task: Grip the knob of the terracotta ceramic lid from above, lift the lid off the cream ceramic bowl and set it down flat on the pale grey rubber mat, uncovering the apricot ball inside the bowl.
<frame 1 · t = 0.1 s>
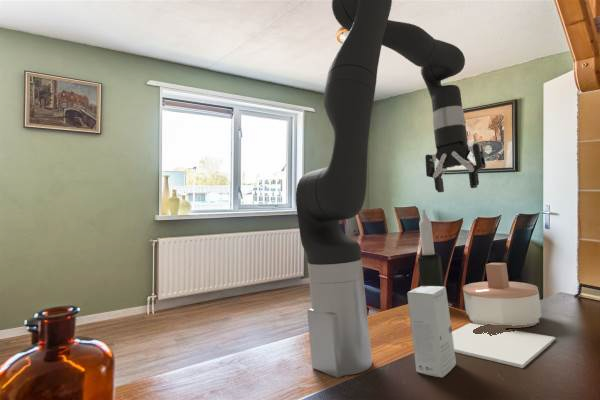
hand: (456, 190, 89), 29 cm above the table, tool pointing down, fingers open, 8 cm apart
bowl: (502, 319, 75), on the table
ball: (500, 304, 75), point 3 cm above the table, touching bowl
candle: (434, 308, 89), on the table
lid: (499, 291, 75), point 6 cm above the table, touching bowl
mat: (491, 343, 62), on the table
skincare box: (436, 369, 54), on the table
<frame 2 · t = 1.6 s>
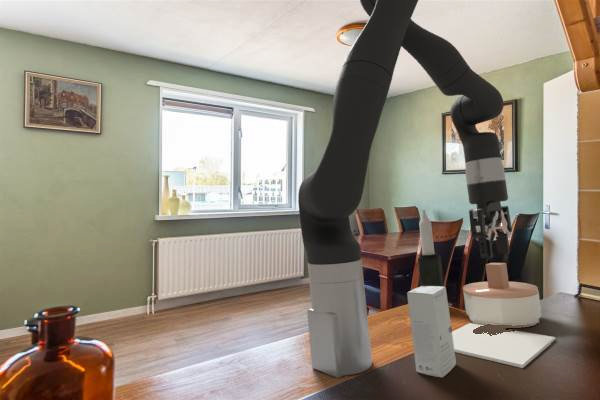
hand: (495, 255, 75), 14 cm above the table, tool pointing down, fingers open, 8 cm apart
nothing on the table moved.
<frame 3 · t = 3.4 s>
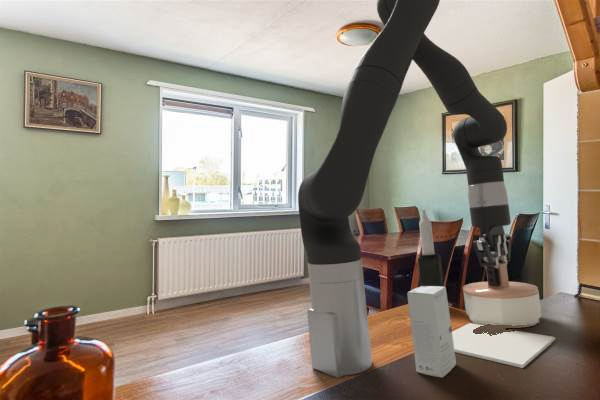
hand: (498, 284, 75), 7 cm above the table, tool pointing down, fingers closed on lid, 3 cm apart
lid: (499, 291, 75), point 6 cm above the table, touching bowl, gripper
everything else where it was.
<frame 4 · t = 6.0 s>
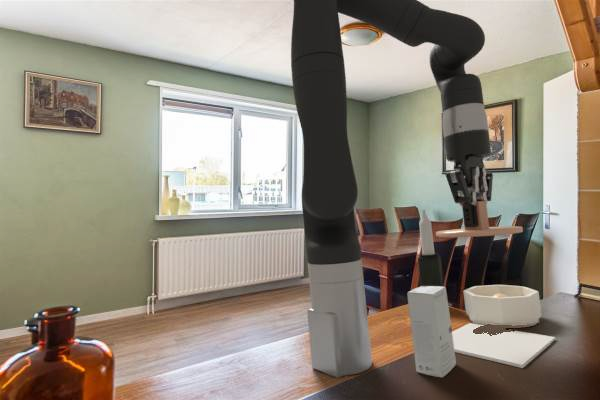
hand: (476, 225, 64), 21 cm above the table, tool pointing down, fingers closed on lid, 3 cm apart
lid: (477, 233, 63), point 19 cm above the table, touching gripper
everything else where it was.
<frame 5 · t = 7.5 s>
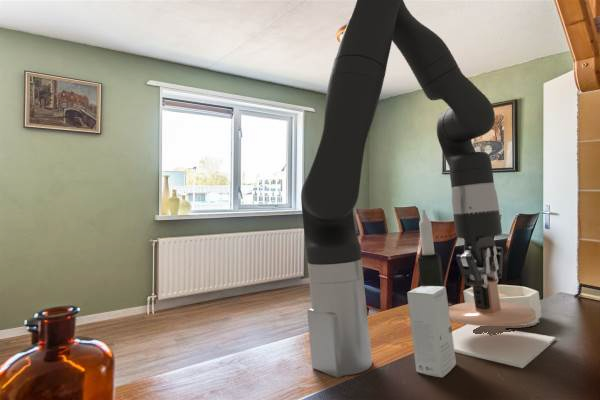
hand: (487, 306, 63), 6 cm above the table, tool pointing down, fingers closed on lid, 3 cm apart
lid: (489, 314, 62), point 5 cm above the table, touching gripper
everything else where it was.
when the fingers open (3 cm above the table, at t = 8.7 s): lid drops 2 cm, resting on mat.
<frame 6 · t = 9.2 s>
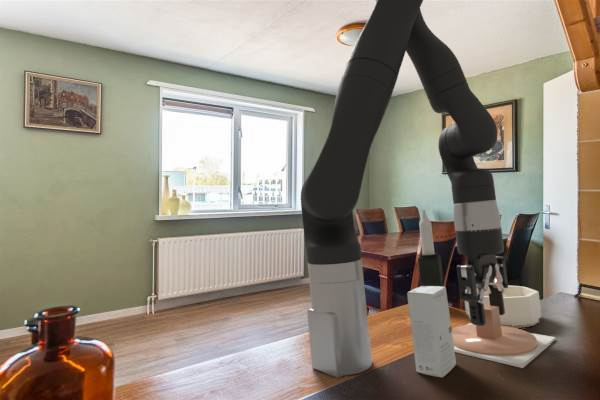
hand: (488, 319, 62), 4 cm above the table, tool pointing down, fingers open, 7 cm apart
lid: (490, 340, 62), resting on mat
everything else where it was.
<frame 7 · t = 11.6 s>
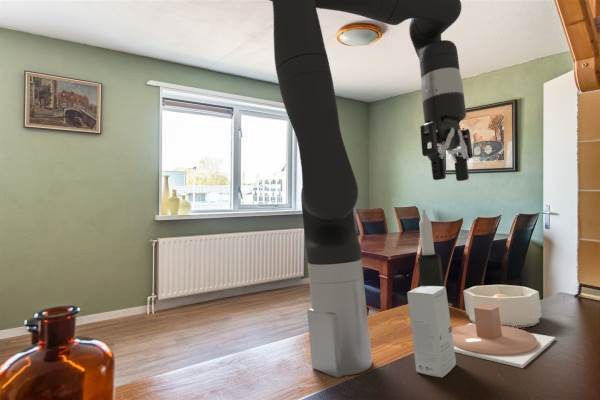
hand: (451, 180, 67), 30 cm above the table, tool pointing down, fingers open, 8 cm apart
nothing on the table moved.
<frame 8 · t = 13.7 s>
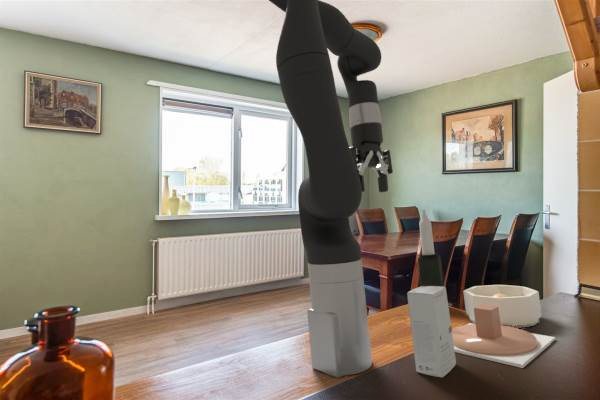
hand: (372, 192, 83), 30 cm above the table, tool pointing down, fingers open, 8 cm apart
nothing on the table moved.
at the end: lid inside the target area on the mat (0.2 cm from its centre), point 0.5 cm above the mat's base; lid touching mat; lid tilted 0° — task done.
